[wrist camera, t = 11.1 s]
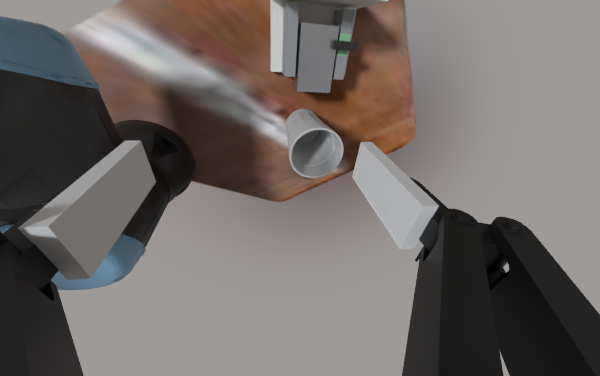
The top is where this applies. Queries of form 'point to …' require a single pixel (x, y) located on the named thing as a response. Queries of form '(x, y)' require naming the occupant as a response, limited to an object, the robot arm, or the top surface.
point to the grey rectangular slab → (317, 56)
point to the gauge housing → (318, 10)
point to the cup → (312, 145)
